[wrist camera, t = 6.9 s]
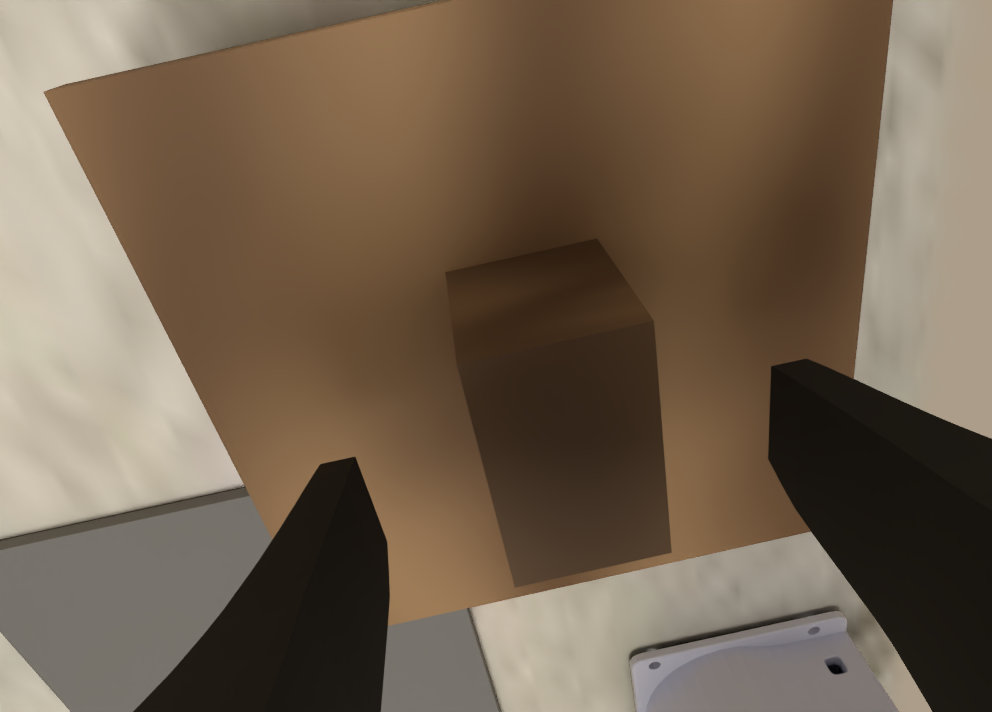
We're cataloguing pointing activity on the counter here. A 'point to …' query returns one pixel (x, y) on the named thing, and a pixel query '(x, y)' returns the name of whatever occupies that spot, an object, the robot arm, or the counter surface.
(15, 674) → the counter surface
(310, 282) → the lid
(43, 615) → the mat
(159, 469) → the counter surface
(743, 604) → the counter surface
